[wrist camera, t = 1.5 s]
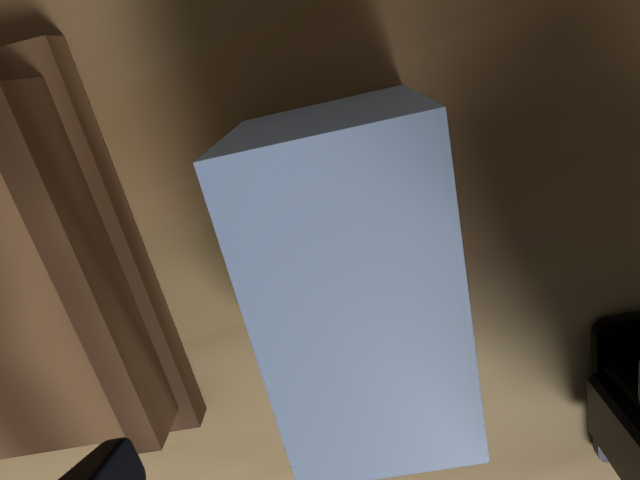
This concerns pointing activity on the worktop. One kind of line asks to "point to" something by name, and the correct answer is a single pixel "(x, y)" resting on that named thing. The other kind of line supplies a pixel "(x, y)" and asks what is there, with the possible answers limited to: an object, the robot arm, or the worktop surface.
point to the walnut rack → (76, 278)
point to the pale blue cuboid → (353, 282)
